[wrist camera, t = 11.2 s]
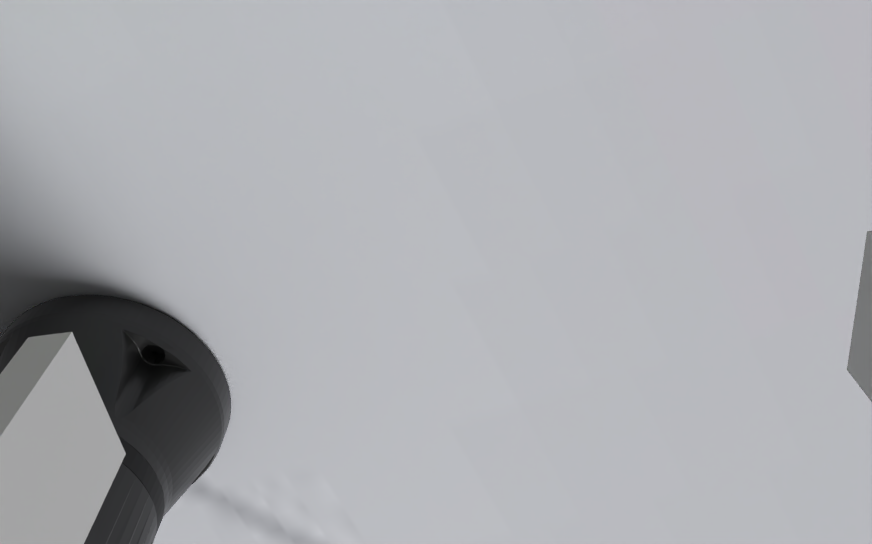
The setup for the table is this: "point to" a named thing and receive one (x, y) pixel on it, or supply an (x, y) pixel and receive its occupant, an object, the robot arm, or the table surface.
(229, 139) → the table surface
